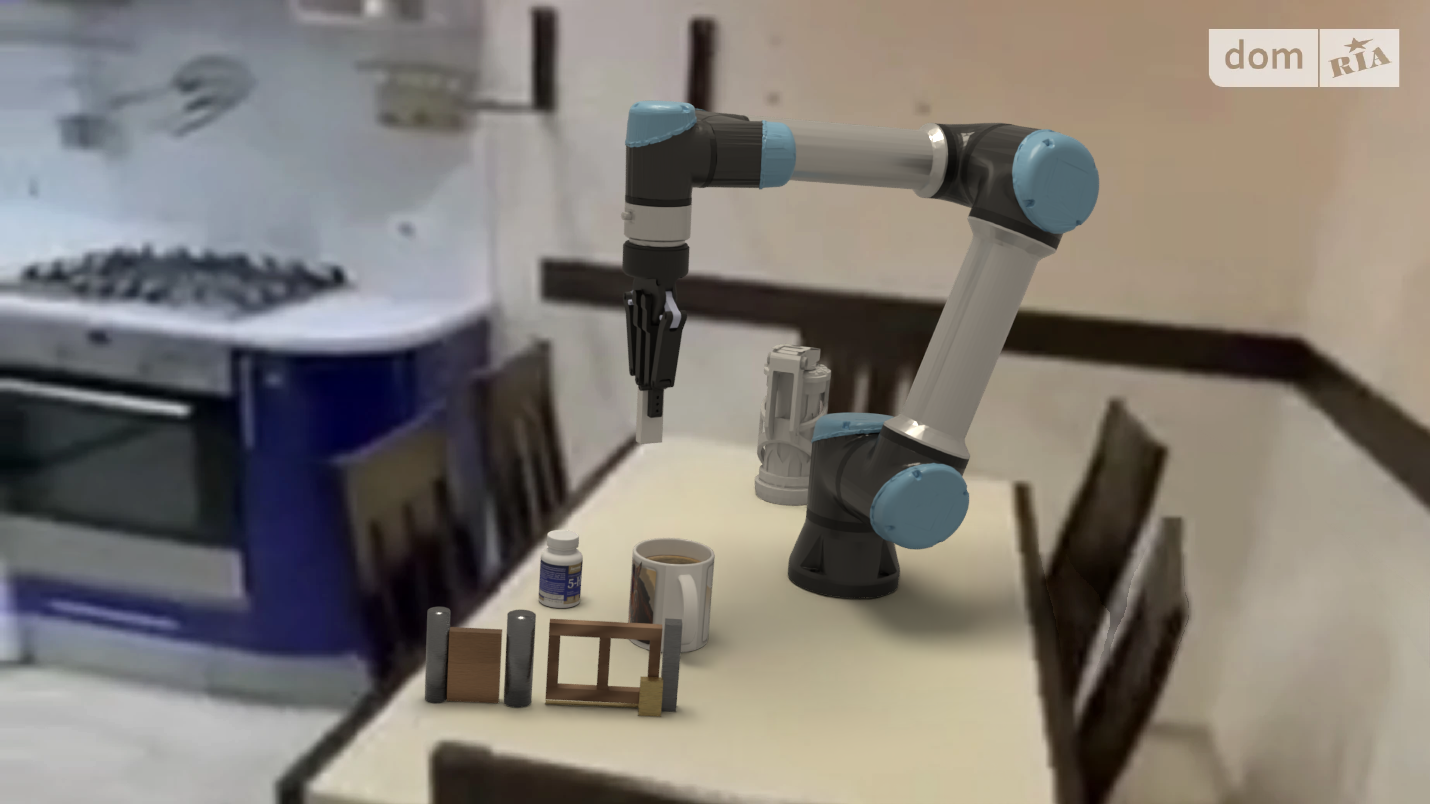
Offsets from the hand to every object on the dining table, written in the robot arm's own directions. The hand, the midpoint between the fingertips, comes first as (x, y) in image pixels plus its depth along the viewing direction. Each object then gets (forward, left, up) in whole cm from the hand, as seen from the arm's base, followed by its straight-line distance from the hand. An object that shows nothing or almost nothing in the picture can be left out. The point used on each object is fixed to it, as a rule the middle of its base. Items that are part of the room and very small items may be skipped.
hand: (648, 441), depth 185 cm
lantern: (-24, -59, -25) cm, 69 cm away
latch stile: (-2, +20, -25) cm, 32 cm away
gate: (+4, +19, -24) cm, 31 cm away
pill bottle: (+9, -11, -25) cm, 28 cm away
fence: (+10, +19, -25) cm, 33 cm away
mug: (-4, +1, -25) cm, 25 cm away
